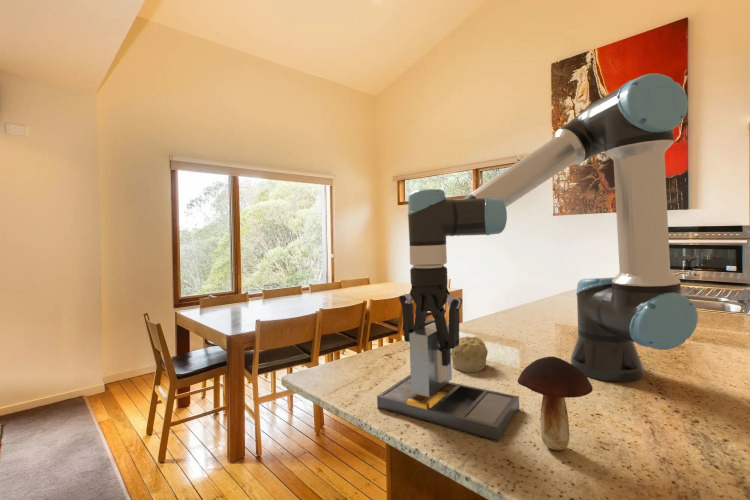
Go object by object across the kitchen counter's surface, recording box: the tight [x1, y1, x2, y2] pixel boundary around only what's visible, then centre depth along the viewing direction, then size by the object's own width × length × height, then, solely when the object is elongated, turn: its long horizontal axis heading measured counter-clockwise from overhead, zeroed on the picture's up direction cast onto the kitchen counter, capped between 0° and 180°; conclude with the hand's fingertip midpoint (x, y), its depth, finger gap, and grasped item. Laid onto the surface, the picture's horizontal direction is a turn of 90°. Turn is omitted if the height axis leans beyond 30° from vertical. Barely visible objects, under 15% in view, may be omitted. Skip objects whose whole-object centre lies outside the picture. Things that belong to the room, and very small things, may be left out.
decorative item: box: [451, 335, 489, 373], centre depth 100 cm, size 10×10×10 cm
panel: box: [409, 321, 453, 397], centre depth 78 cm, size 4×10×12 cm, turn 145°
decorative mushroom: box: [517, 356, 594, 451], centre depth 61 cm, size 11×11×15 cm
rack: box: [376, 373, 520, 443], centre depth 76 cm, size 25×14×3 cm, turn 54°
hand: (432, 377), depth 78 cm, fingers closed on panel, 4 cm apart
